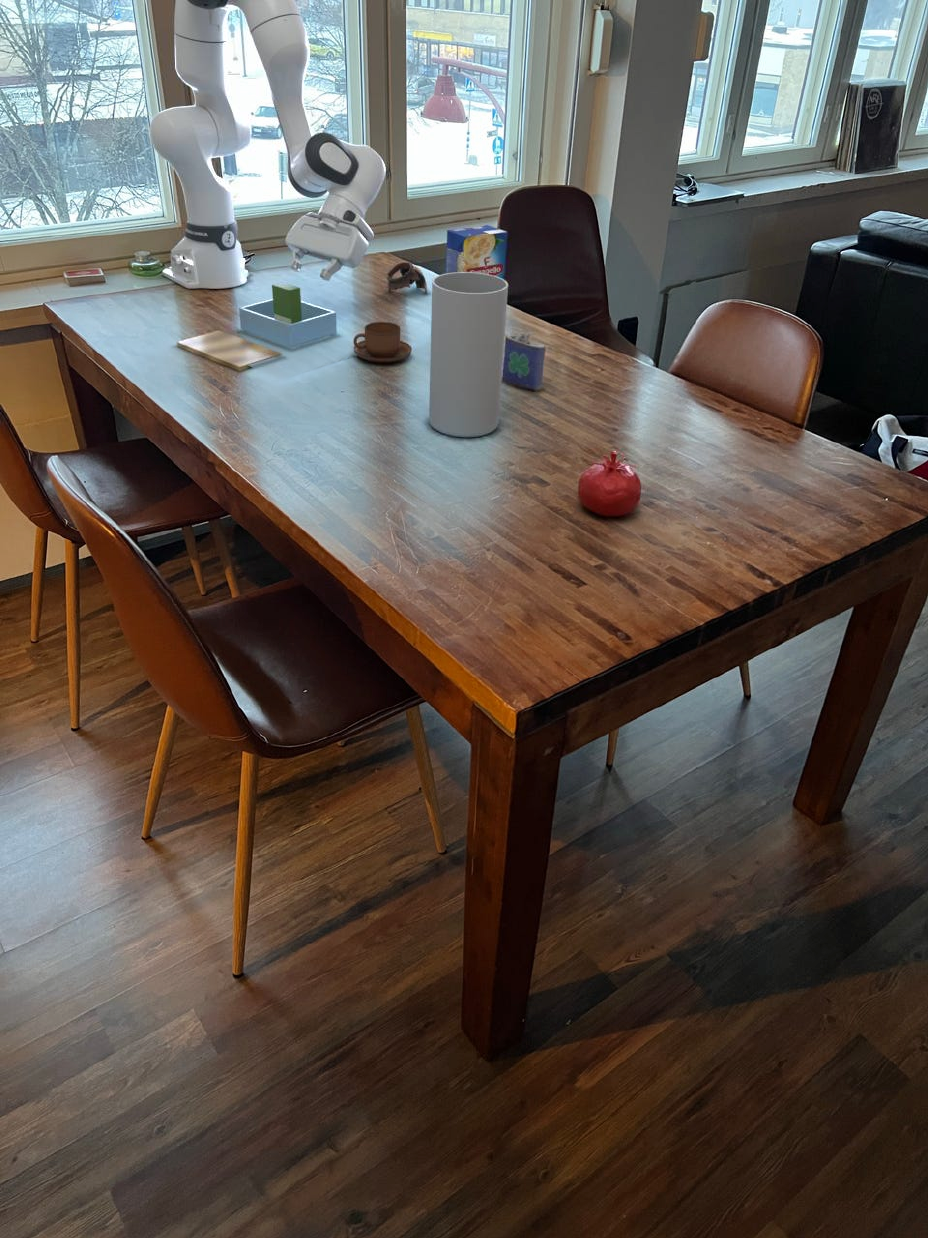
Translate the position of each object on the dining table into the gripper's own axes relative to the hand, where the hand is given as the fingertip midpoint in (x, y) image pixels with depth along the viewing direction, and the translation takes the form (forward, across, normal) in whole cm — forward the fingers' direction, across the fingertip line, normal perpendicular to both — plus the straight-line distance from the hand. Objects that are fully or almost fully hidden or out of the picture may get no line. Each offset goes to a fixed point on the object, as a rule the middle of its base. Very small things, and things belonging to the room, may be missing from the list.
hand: (308, 274), depth 200 cm
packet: (+12, 0, +3) cm, 13 cm away
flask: (+4, +54, +12) cm, 56 cm away
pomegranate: (+27, +94, -10) cm, 98 cm away
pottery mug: (-18, -4, +34) cm, 39 cm away
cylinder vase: (+21, +58, -4) cm, 62 cm away
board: (+24, 0, -8) cm, 26 cm away
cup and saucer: (+10, +24, +7) cm, 27 cm away
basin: (+13, 0, +4) cm, 13 cm away
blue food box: (-8, +28, +24) cm, 38 cm away
